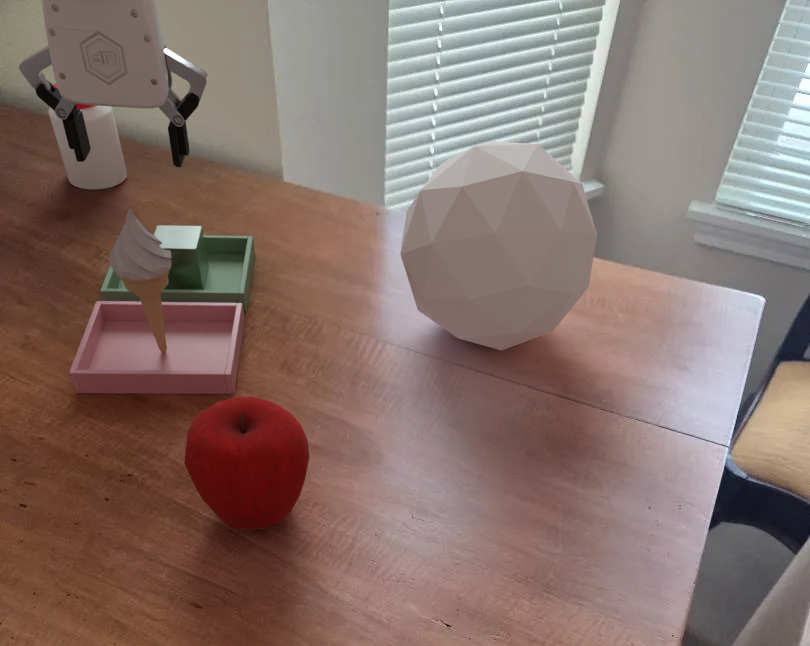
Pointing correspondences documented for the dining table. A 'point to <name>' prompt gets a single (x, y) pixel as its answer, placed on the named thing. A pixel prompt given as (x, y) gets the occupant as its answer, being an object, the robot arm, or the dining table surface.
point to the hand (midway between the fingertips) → (132, 158)
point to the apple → (247, 461)
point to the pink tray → (143, 361)
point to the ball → (499, 244)
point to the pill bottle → (93, 149)
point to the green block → (184, 256)
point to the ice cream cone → (143, 271)
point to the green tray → (223, 279)
